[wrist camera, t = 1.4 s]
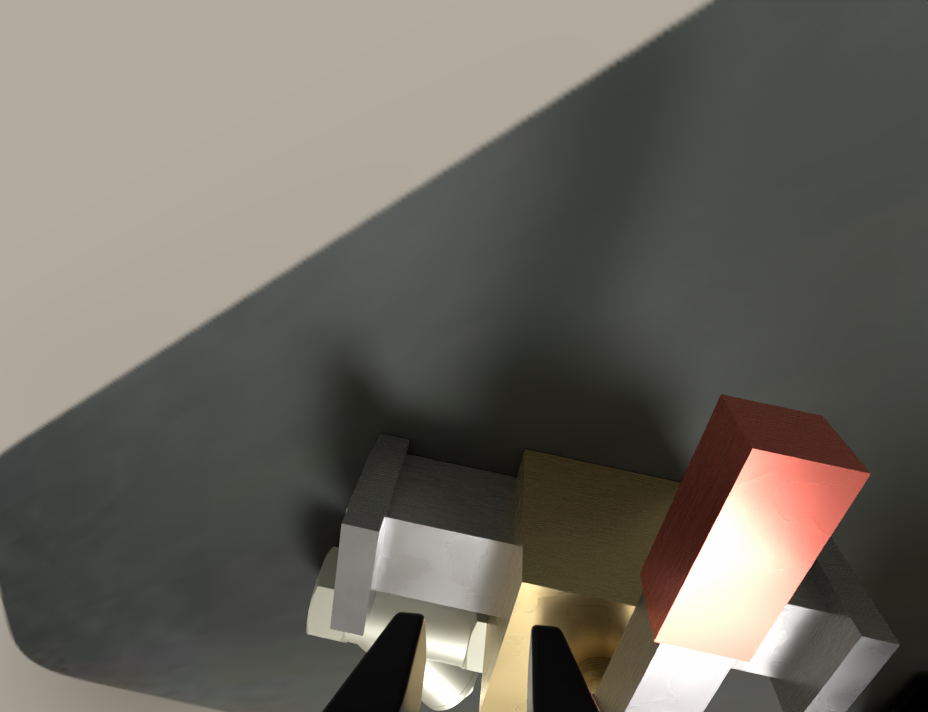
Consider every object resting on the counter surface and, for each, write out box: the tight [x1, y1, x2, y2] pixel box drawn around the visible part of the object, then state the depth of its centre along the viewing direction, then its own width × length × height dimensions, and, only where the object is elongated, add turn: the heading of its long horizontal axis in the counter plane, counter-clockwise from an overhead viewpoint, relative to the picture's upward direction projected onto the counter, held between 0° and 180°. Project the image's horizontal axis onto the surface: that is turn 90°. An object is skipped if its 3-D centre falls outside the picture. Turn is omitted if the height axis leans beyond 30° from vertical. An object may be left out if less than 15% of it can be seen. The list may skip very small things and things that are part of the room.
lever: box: [592, 395, 871, 712], centre depth 13 cm, size 13×3×2 cm, turn 170°
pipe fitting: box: [306, 546, 487, 711], centre depth 25 cm, size 8×4×7 cm
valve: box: [330, 433, 900, 712], centre depth 20 cm, size 18×6×8 cm, turn 80°
